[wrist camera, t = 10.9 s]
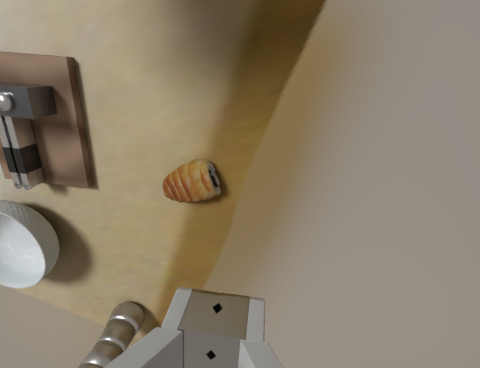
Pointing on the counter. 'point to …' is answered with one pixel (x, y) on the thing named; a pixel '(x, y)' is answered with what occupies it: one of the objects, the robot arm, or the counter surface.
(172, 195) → the pastry
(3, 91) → the tong hinge
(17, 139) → the loose tong arm
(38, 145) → the walnut board
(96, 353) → the plastic bottle
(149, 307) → the counter surface
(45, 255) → the cereal bowl
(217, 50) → the counter surface
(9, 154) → the fixed tong arm
